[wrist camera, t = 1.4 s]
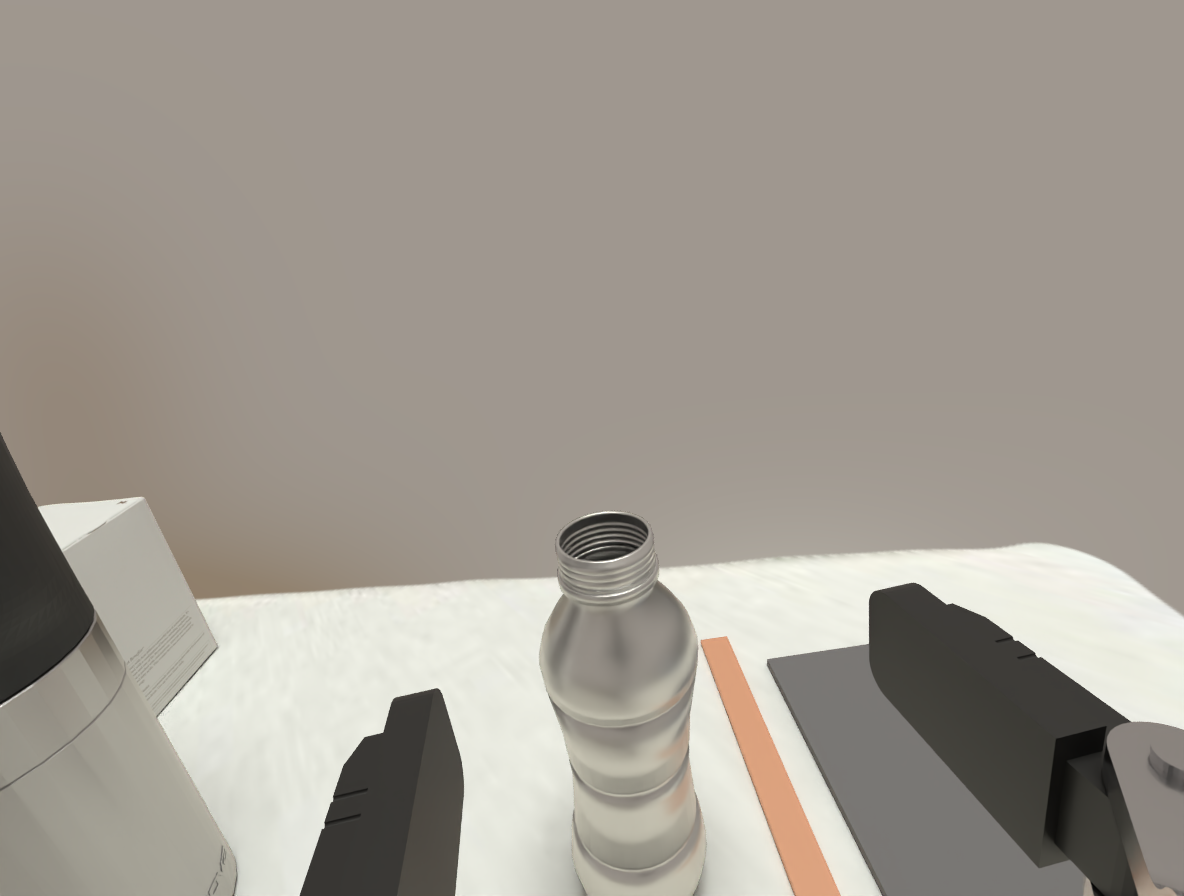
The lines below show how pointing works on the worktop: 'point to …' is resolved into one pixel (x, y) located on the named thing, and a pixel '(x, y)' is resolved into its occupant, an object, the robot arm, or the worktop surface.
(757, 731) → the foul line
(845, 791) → the mat
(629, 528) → the plastic bottle
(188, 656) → the supplement box
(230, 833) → the worktop surface
